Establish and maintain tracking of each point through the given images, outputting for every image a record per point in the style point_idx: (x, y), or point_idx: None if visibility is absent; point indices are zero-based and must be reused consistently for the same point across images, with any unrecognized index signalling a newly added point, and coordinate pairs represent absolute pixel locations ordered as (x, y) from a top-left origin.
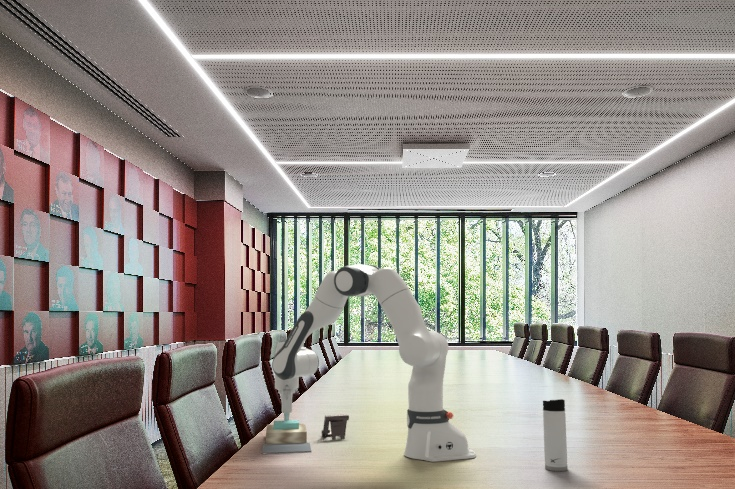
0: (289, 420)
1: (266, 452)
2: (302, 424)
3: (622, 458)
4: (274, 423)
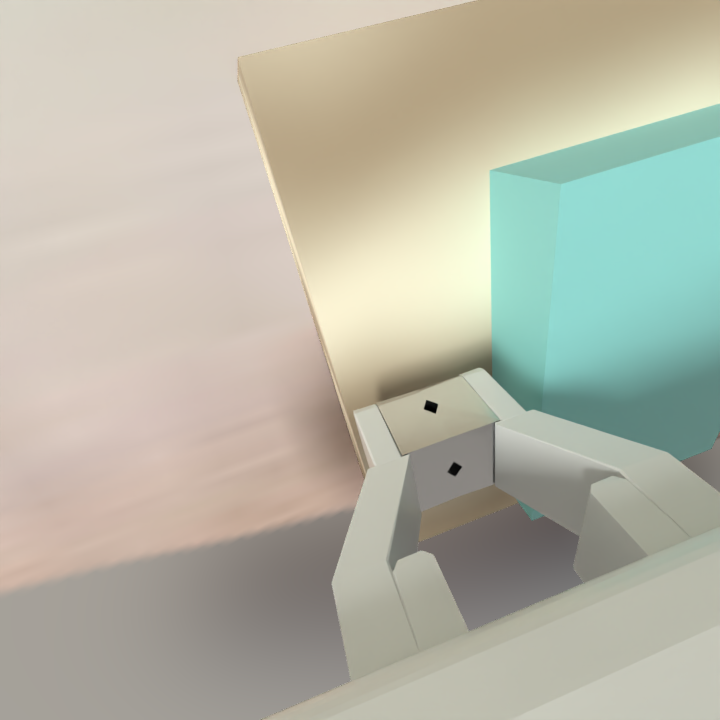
0: (550, 357)
1: None
2: (362, 105)
3: None
4: (695, 449)
